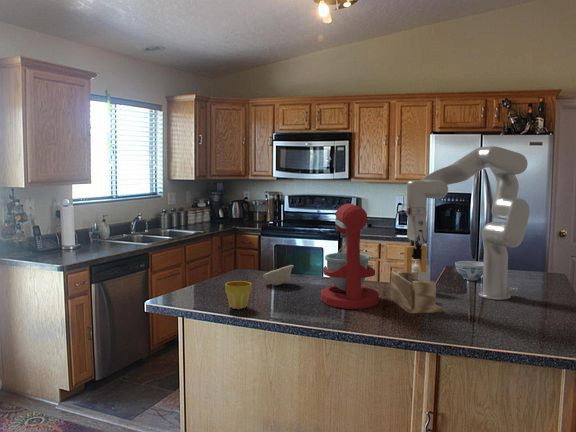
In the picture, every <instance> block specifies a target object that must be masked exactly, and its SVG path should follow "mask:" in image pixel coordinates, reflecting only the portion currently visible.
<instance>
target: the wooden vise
mask: <svg viewBox="0 0 576 432" xmlns="http://www.w3.org/2000/svg"><path fill="white" fill-rule="evenodd" d="M436 288H437V282H436V281H435V280H433V279H432V280H431V279H430V281H419V280H418V272H417V271H412V272H405V271H404V270H401V271H400V270H399V271H398V270H397V271H396V272H395V271H393V270H391V271H390V295H389V296H390V299H391V300H392V301H393V302H394V303H396V304H397V305H398V306H399V307H400V308H401V309H403V310H404V311H405V312H406V313H408V314H425V313H426V314H427V313H443V307H441V306H440V305H438V304H437V303H436V291H437V289H436Z"/></svg>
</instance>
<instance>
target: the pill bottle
mask: <svg viewBox="0 0 576 432" xmlns="http://www.w3.org/2000/svg"><path fill="white" fill-rule="evenodd" d="M418 269H419V259H414V264H412V271H417V272H418V280H419V281H431V266H430V265H429V264H428V258H427V261H426V272H420V271H418Z"/></svg>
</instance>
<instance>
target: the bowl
mask: <svg viewBox="0 0 576 432" xmlns="http://www.w3.org/2000/svg"><path fill="white" fill-rule="evenodd" d="M293 268H294V265H293V264H289V265H286V266H283V267H279V268H278V269H273V270H270V271H268V272H266V273H264V274H263V276H262V278H263V279H265V280H267V281H269V282H271V284H272V285H273V284H277V285H276V286H279V285H282V284H286V283H288V282H289V280H290V276H291V274H292V269H293Z"/></svg>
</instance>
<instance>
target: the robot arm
mask: <svg viewBox="0 0 576 432" xmlns="http://www.w3.org/2000/svg"><path fill="white" fill-rule="evenodd" d="M528 166H529V165H528V159H527V157H526V156H525V155H523V153H520V152H517V151H514V150H511V149H510V150H509V149H508V148H503V147H501V146H495V145H493V146H491V145H490V146H480V147H477V148H475V149H473V150H472V151H470V152H469V153H466V155H464V156H462V157H461V158H459V159H457V160H456V161H455V162H453V163H451V164H447V165H446V166H444V167H441V168H439V169H436V170H434V171H432V172H431V173H429V174H428V175H426V176H425V177H423V178H421V179H420V180H415V179H413V180H409V181H408V182H407V184H406V216H407V224H406V225H407V226H406V228H407V229H406V236H407V239H408V241H409V246H414V249H413V255H412V260H415V259H421V254H422V246H423V245H424V242H426V241H427V239H428V238H427V237H428V236H427V235H428V234H427V233H428V231H427V230H428V229H427V228H428V227H427V218H426V217H427V201H428V200H427V199H432V200H440V199H443V198H445V197H446V196H447V194H448V192H449V187H448V186H450V185H452V184H458V183H462V182H466V181H467V180H469V179H470V178H472V177H473V176H475V175H477V174H478V173H479V172H481V171H482V170H484V169H486V168H487V169H488V168H489V169H490V171H491V173H492V174H493V176H494V178H495V179H496V189H495V193H494V197H493V201H492V206H491V215H492V216H493V217H494V218H496V219H498V220H503V221H506V223H505V222H501V221H491V222H488V223H486V224H485V225H484V226H483V227H482V230H481V239H482V243H483V245H482V246H483V261H482V262H483V275H482V290H480V291H479V292H478V296H479V297H481V298H483V299H488V300H497V301H499V300H501V301H502V300H509V299H511V293H519V288H518V287H512V286H509V285H508V267H509V264H508V263H509V253H508V249H507V248H512V249H513V248H517V247H519V246H520V245H521V243H522V242H523V240H524V237H525V233H526V230H527V226H528V223H529V222H528V221H529V217H530V212H531V211H530V205H529V203H528V202H527V200H525V199H523V198H520V197H518V194H519V193H518V192H519V189H520V187H519V181H518V178H517V176H516V175H521V174H523V173H524V172H525V171H526V170H527V168H528Z"/></svg>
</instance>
